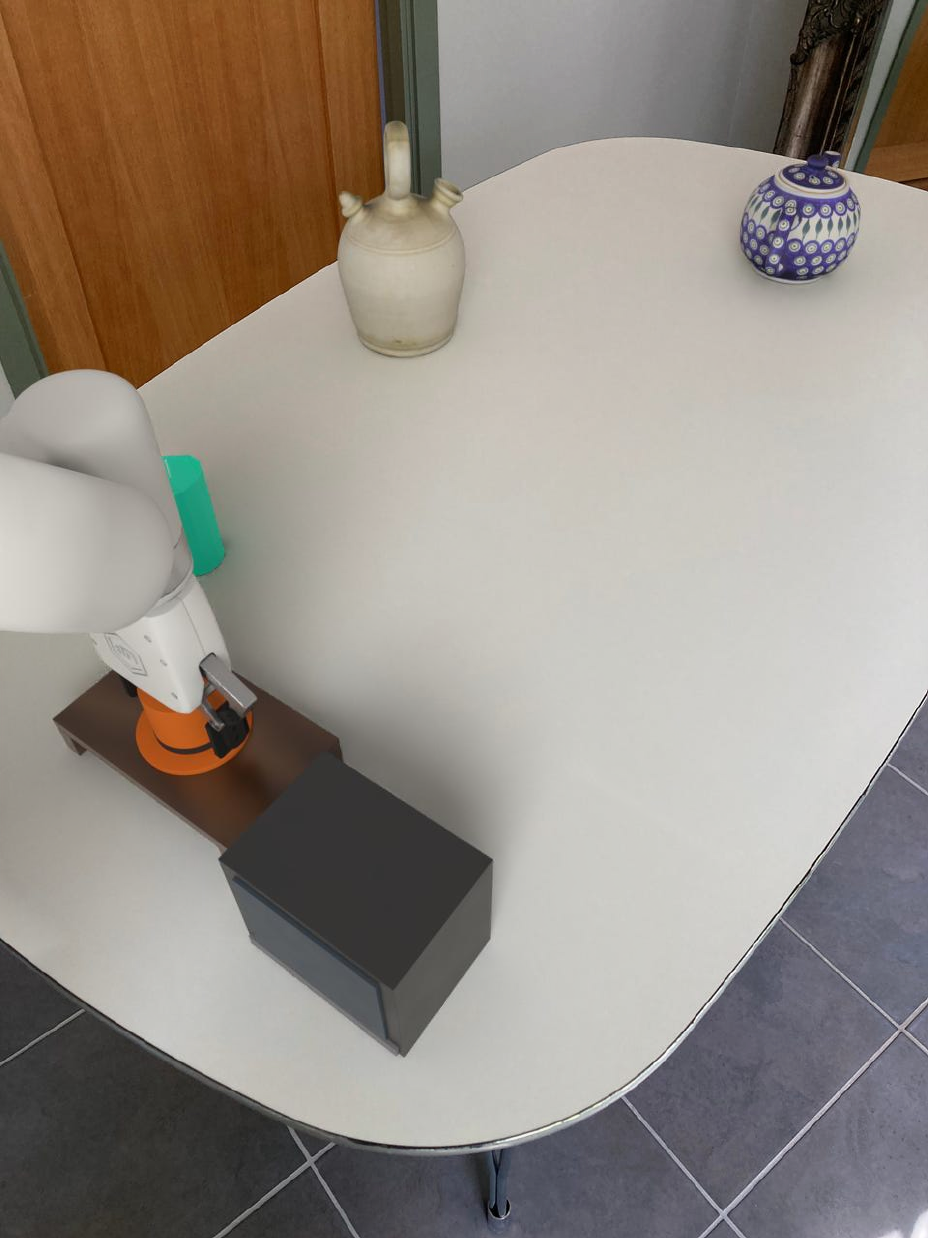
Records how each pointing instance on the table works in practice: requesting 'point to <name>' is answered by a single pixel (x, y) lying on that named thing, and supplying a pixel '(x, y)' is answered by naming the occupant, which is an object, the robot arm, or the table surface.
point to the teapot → (801, 221)
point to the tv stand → (209, 798)
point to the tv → (362, 899)
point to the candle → (195, 511)
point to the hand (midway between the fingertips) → (188, 713)
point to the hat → (179, 737)
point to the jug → (402, 259)
